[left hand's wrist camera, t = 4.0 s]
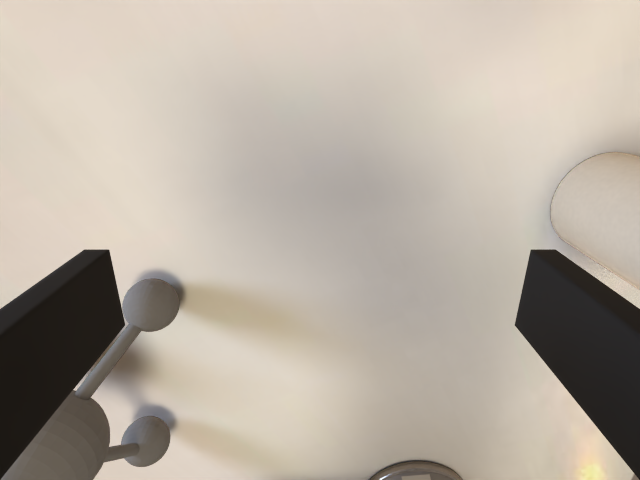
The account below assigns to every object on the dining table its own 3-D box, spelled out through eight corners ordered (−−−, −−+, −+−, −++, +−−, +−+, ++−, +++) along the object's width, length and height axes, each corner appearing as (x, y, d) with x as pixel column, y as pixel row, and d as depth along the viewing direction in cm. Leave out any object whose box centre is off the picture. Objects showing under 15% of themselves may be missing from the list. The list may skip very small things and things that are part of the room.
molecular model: (263, 335, 46) (178, 717, 18) (163, 442, 52) (-15, 849, 25) (81, 211, 41) (-439, 490, 13) (-8, 347, 47) (-488, 735, 19)
